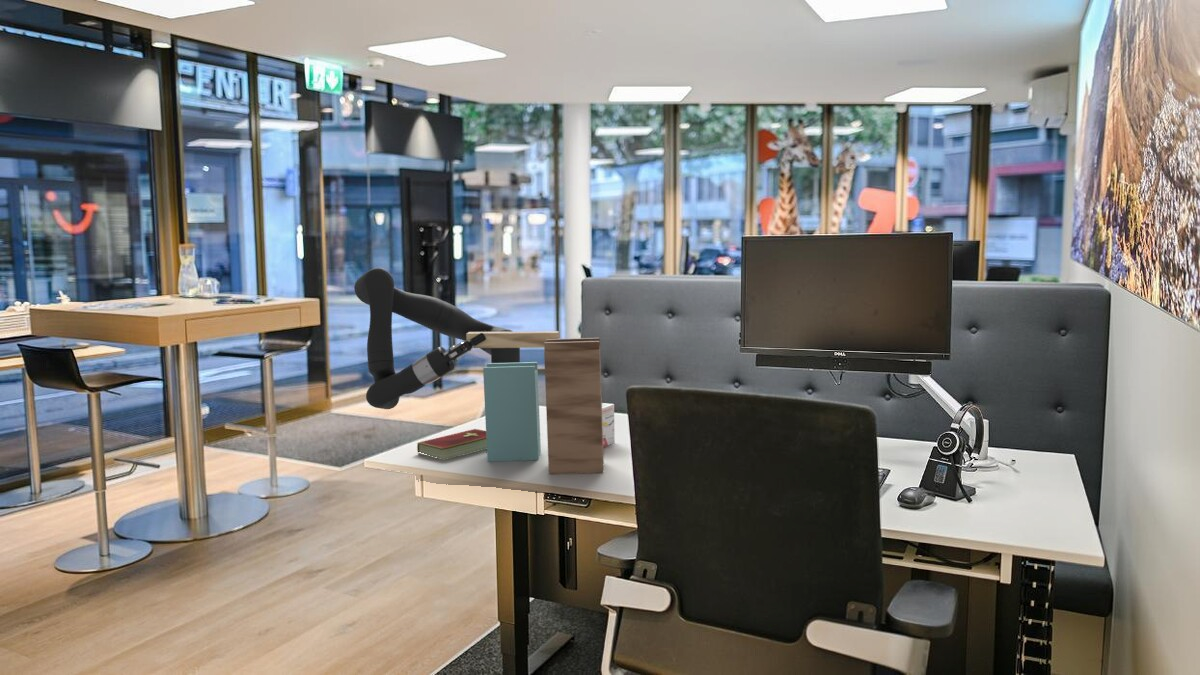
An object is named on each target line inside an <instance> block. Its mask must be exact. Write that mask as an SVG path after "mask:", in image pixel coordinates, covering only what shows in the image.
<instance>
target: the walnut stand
mask: <svg viewBox="0 0 1200 675" xmlns="http://www.w3.org/2000/svg"><path fill="white" fill-rule="evenodd" d="M543 349H544V351H543V352H544V353H543V354H544V355H543V356H544V380H545V381H544V382H545V408H546V432H547V434H546V435H547V436H546V437H547V458H548V459H547V461H548V462H547V463H548V474H549V475H565V474H566V473H575V474H596V473H595V472H603V473H604V465H603V464H605V463H604V462H605V461H604V447H603V425H602V403H603V400H602V396H603V395H602V393H603V392H602V365H601V364H602V362H601V361H602V360H601V337H581V338H580V337H579V338H577V337H575V338H573V337H571V338H559V339H547V340H546V342H545V343H544V348H543Z"/></svg>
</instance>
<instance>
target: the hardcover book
mask: <svg viewBox="0 0 1200 675" xmlns="http://www.w3.org/2000/svg"><path fill="white" fill-rule="evenodd" d="M416 444H417V447H416V448H417V450H416V451H417V453H418V452H421V453H424V454H427V455H430V456H433V457H437V458H441V459H447V458H451V459H453V458H452V457H454V458H456V457H455V456H458V457H460V456H459V455H462V456H464V455H463V454H466V455H468V454H467V453H469V454H471V453H470V452H473V453H475V452H474V451H477V452H479V451H478V450H481V449H484V450H487V449H486V448H487V441H486V430H482V429H478V428H473V429H469V430H465V431H460V432H455V433H452V434H448V435H444V436H439V437H436V438H432V439H427V440H423V441H419V442H417V443H416ZM481 451H482V450H481ZM447 460H448V459H447Z"/></svg>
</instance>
